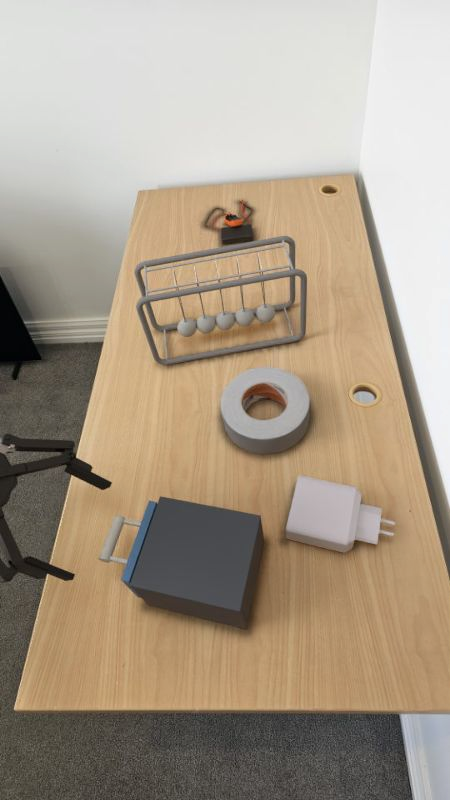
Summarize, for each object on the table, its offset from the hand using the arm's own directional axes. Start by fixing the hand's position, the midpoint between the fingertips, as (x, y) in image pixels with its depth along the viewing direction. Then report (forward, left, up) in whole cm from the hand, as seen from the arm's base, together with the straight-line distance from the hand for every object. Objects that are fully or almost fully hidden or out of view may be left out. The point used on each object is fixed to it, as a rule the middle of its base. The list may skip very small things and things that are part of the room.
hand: (90, 529), depth 71 cm
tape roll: (+33, -8, -9) cm, 36 cm away
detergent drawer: (+4, -11, -8) cm, 14 cm away
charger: (+22, -28, -9) cm, 37 cm away
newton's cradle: (+47, +9, -9) cm, 48 cm away
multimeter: (+78, +30, -9) cm, 84 cm away
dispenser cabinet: (+5, -15, -9) cm, 19 cm away
